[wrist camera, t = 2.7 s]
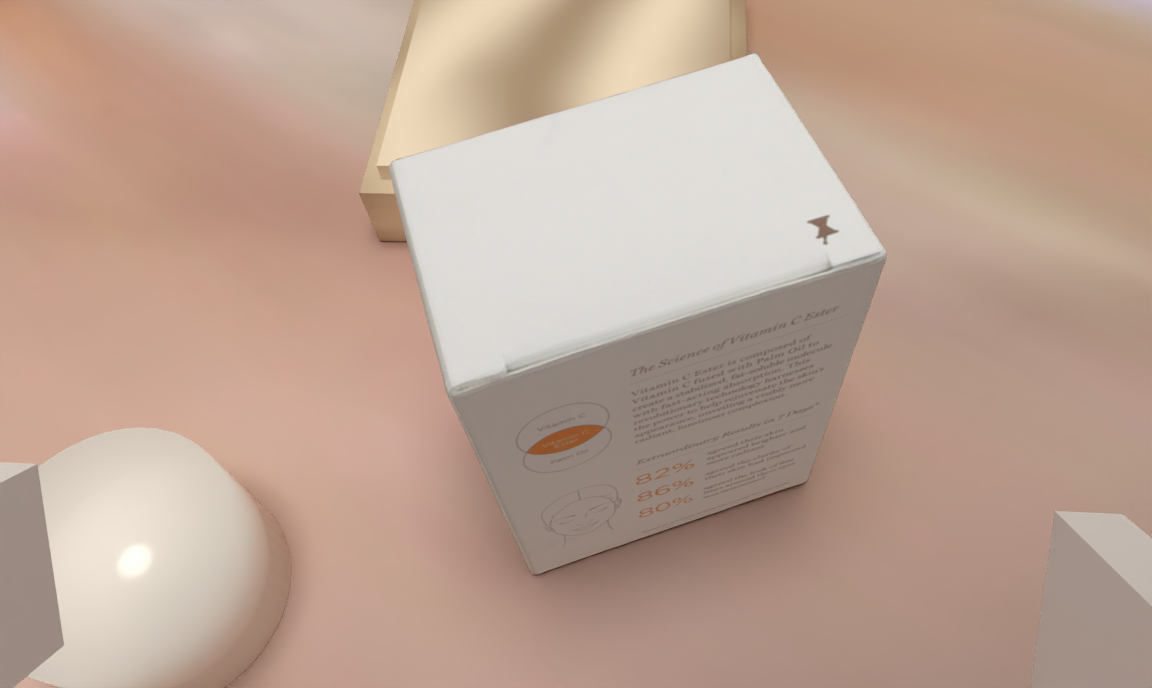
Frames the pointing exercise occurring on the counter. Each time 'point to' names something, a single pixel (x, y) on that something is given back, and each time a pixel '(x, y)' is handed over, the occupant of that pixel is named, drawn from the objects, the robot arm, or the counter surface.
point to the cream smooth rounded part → (157, 565)
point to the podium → (530, 69)
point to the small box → (640, 304)
